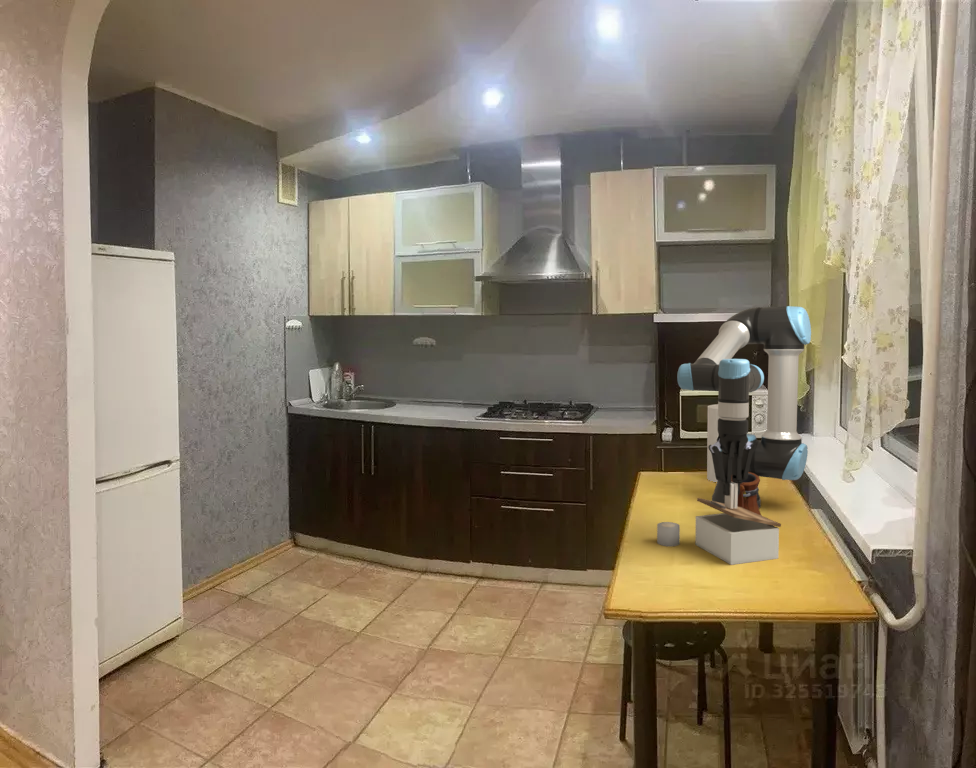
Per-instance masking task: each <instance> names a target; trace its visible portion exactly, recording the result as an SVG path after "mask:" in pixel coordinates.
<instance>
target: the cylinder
mask: <svg viewBox="0 0 976 768" xmlns="http://www.w3.org/2000/svg"><path fill="white" fill-rule="evenodd" d="M719 418H720V417H719V416H718V403H717V404H710V405H707V427H706V428H707V429H706V431H707V433H706V434H707V439H706V441H707V442H706V443H707V445H706V446H707V449H706V450H707V453H706V456H707V457H706V459H707V462H706V464H707V465H706V467H707V468H706V469H707V470H706V480H707V479H708V481H709V480H710V481H709V482H711V481H713V482H717V481H718V480H717V479H716V476H715V470H714V465H713V459H712V453H711V452H710V450H709V448H708V446H709V445H713V444H715V443H716V442H717V438H718V435H719V434H718V419H719ZM713 482H712V483H713Z"/></svg>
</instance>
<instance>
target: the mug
mask: <svg viewBox="0 0 976 768" xmlns="http://www.w3.org/2000/svg"><path fill="white" fill-rule="evenodd" d="M731 482H733V481H732V477H731ZM760 482H761V478H760V477H759V476H757V475H756V474H754V473H751V472H749V473H748V477H747V480H743V483H742V484H740V494H739V495H738V500H737V506H738V507H742V508H744V509H747V510H749V511H751V512H754V513H756V514H759V515H761V516H763V515H762V513H761V511H760V508H759V507H758V504H757V495H756V494H757V493H759V491H760V489H759V484H760Z"/></svg>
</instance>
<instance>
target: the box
mask: <svg viewBox="0 0 976 768" xmlns="http://www.w3.org/2000/svg"><path fill="white" fill-rule="evenodd" d="M779 534H780V527H778V526H773V525H768V524H764V523H759V522H754V521H749V520H744V519H740V518H735V517H732V516H730V515H728V514H725V513H723V512H722V513H721V512H720V513H713V514H705V515H696V516H695V546H697V547H699V548H700V549H702V550H704V551H706V552H707V553H709V554H711V555H712V556H714V557H716V558H718V559H720V561H721V560H722V561H724V562H725V563H727V564H729V565H731V566H732V565H738V564H739V565H740V564H741V565H742V564H748V563H754V562H761V561H769V560H776V559H779V549H780V548H779V546H780V545H779V543H780V542H779V539H780V537H779V536H780V535H779Z"/></svg>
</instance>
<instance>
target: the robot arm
mask: <svg viewBox="0 0 976 768" xmlns="http://www.w3.org/2000/svg"><path fill="white" fill-rule="evenodd" d="M810 320H811V319H810V316H809V314H808V312H807V310H806V308H804V307H802V306H796V305H795V306H792V305H791V306H790V305H788V306H787V305H786V306H768V307H767V306H765V307H764V306H763V307H750V308H747V309H743V310H741V311H739V312H737V313H736V314H734V315H732V316H731V317H729V318H728V319H727V320H725V321H724V322H723V323H722V325H720V328H719V329H718V335H716V337H715V338H714V339H713V340H712V341H711V343H710V344H709V345H708V346H707V348H706V349H704V350H703V352H702V353H701V354H700V356H699V357H698V358H697V359H696V360H695V362H694V363H691V362H688V363H683V364H681V365H679V367H678V371H677V380H676V381H677V384H678V386H679V388H680V389H682V390H686V391H687V390H688V391H692V392H693V391H694V392H695V391H699V392H701V391H705V392H706V391H707V392H717V393H718V396H717V398H718V399H717V402H718V403H717V404H718V416H719V417H720V418H719V419H718V434H719V435H718V438H717V442H716V443H715V444H713V445H709V446H708V448H709V450H710V452H711V453H712V459H713V465H714V470H715V476H716V479H717V480H718V481H717V483H715V488H714V490H713V493H712V495H711V501H715V502H719V503H724V504H725V507H728V508H730V509H733V508H737V500H738V495H739V494H740V484H742V483H743V480H747V477H748V473H749V472H751V473H754V474H756V475H757V476H759V478H760V477H761V478H770V479H778V480H782V481H785V480H786V481H788V480H789V481H797V480H799V479H800V478H801V477H802V475H803V473H804V471H805V468H806V465H807V460H808V454H809V453H808V452H809V451H808V445H807V444H806V443H804V442H803V443H802V440H803V439H802V436H801V434H799V433H798V430H797V427H798V421H797V420H798V393H799V392H798V391H799V390H798V389H799V387H798V386H799V357H800V354H801V353H803V352H804V351H805V346H806V345H809V344H810V342H811V340H812V337H811V336H812V329H811V328H812V327H811V321H810ZM746 345H763V351H764V352H765V353H767V356H768V370H767V371H768V372H767V373H768V374H767V375H768V376H767V409H766V410H767V411H766V414H767V415H766V431H765V432H764V433H763V434H762V435H761V440H760V439H759V440H758V439H757V436H756V435H755V434H750V433H748V432H749V420H748V419H747V418H749V416H750V415H749V414H750V413H749V408H750V406H749V405H750V400H749V399H750V393H753V392H756V391H757V390H758V389H760V388H761V387H762V385H763V384H764V381H765V374H764V372H763V370H762V369H761V368H760V367H759V366H757V365H755V364H752V363H750V361H749V360H748V359H746V358H733V357H734V356H735V354H736V353H737V352H738V351H739V350H741V349H742V348H744V347H745V346H746ZM731 477H732V481H733V482H731ZM756 495H757V504H758V507H759V509H760V508H761V506H762V505H761V504H762V503H761V502H762V500H761V497H760V494H759V492H758V493H757V494H756Z"/></svg>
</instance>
